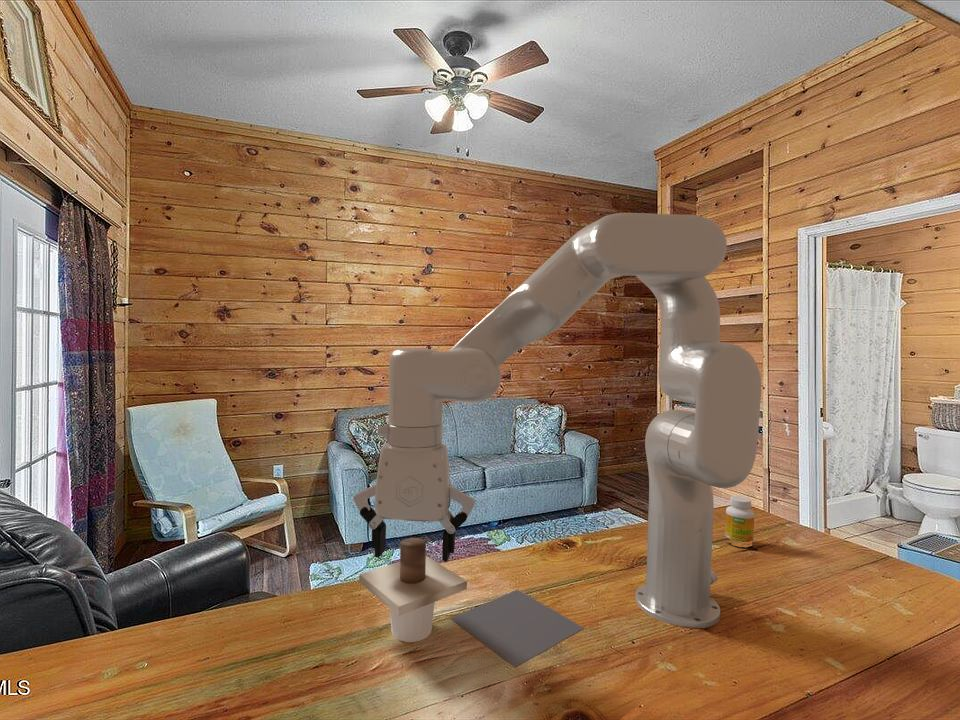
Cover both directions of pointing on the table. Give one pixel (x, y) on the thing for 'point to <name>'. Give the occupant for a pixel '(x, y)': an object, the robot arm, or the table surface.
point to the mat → (516, 626)
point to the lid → (412, 579)
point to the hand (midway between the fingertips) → (413, 555)
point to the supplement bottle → (739, 520)
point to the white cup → (412, 624)
